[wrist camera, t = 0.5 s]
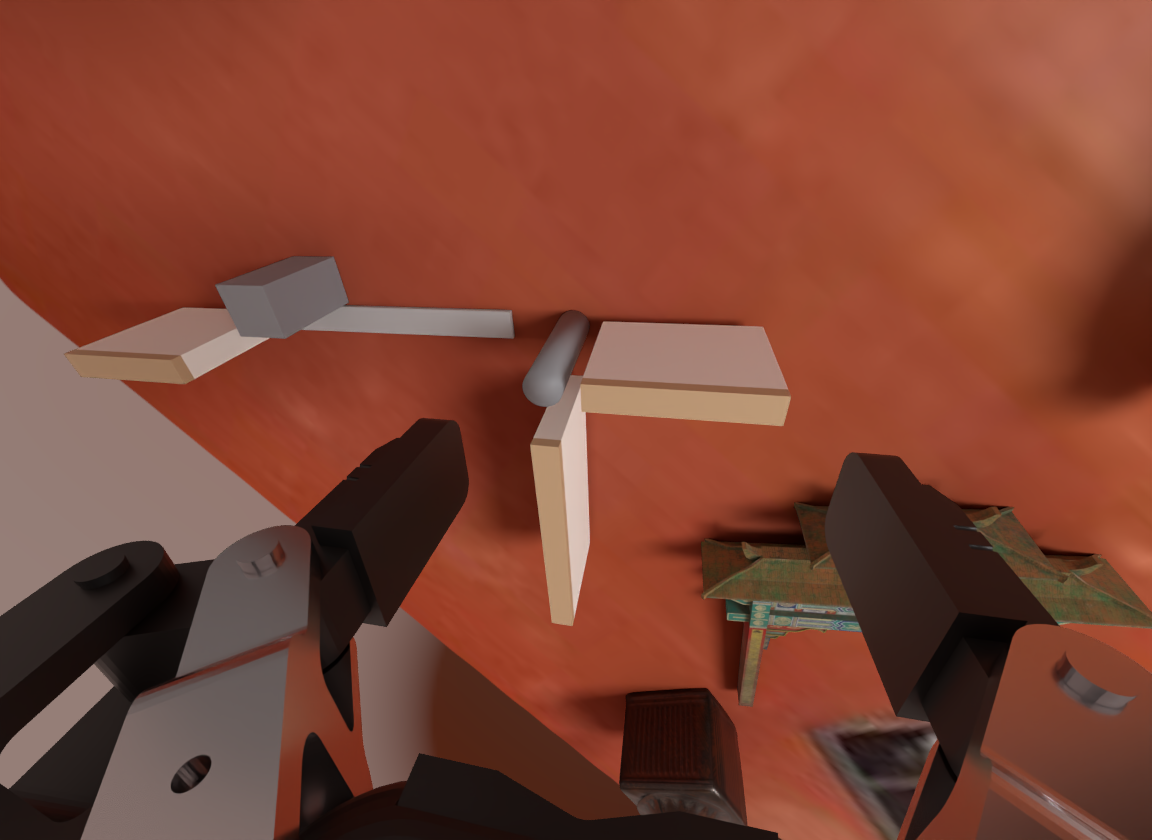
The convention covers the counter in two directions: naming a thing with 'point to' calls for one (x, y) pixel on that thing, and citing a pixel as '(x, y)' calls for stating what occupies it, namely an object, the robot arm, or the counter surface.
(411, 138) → the counter surface
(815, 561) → the miniature gate
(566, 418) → the white flat block
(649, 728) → the manual coffee grinder
